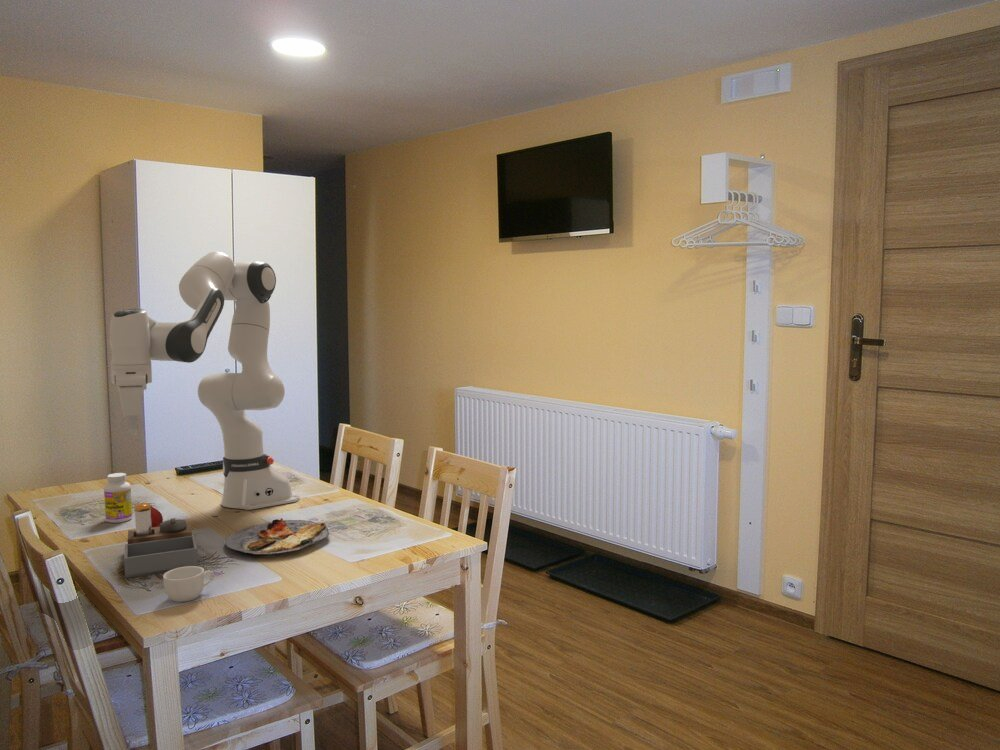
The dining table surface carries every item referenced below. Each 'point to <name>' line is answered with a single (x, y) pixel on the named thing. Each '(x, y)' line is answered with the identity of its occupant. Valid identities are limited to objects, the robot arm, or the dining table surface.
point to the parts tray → (159, 556)
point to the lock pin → (143, 519)
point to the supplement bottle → (117, 499)
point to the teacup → (185, 583)
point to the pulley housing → (163, 531)
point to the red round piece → (155, 517)
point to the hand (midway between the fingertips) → (134, 432)
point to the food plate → (277, 536)
